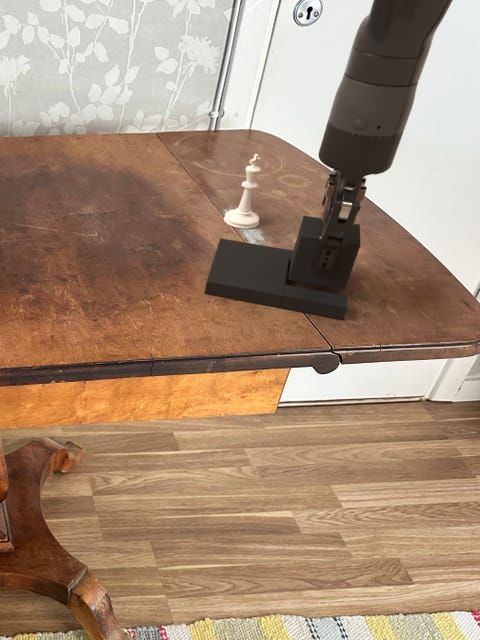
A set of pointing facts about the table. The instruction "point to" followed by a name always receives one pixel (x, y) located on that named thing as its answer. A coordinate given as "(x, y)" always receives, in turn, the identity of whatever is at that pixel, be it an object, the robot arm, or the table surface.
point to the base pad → (266, 280)
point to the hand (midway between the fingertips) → (322, 259)
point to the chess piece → (245, 200)
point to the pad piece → (308, 249)
